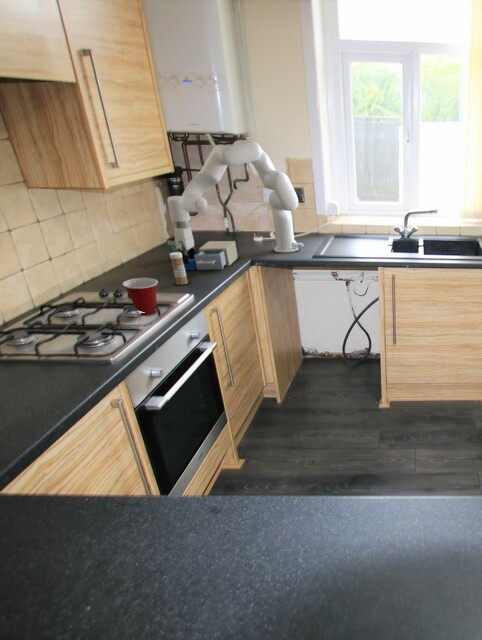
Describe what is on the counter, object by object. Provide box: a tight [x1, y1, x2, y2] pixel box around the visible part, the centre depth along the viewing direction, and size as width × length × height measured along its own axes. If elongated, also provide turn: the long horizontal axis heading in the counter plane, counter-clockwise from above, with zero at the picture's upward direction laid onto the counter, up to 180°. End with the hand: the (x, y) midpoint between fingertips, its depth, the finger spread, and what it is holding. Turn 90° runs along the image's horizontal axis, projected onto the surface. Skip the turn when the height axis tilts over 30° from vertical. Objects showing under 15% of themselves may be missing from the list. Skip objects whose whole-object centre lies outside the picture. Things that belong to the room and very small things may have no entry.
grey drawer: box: [194, 250, 227, 271], centre depth 223 cm, size 18×11×7 cm, turn 8°
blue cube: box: [184, 258, 197, 271], centre depth 223 cm, size 4×4×4 cm
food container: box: [167, 239, 194, 259], centre depth 236 cm, size 12×6×10 cm, turn 143°
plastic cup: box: [121, 277, 159, 316], centre depth 171 cm, size 11×11×12 cm
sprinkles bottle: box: [169, 252, 189, 286], centre depth 201 cm, size 5×5×13 cm
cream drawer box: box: [198, 240, 239, 267], centre depth 233 cm, size 15×13×9 cm
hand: (189, 260), depth 222 cm, fingers open, 9 cm apart
